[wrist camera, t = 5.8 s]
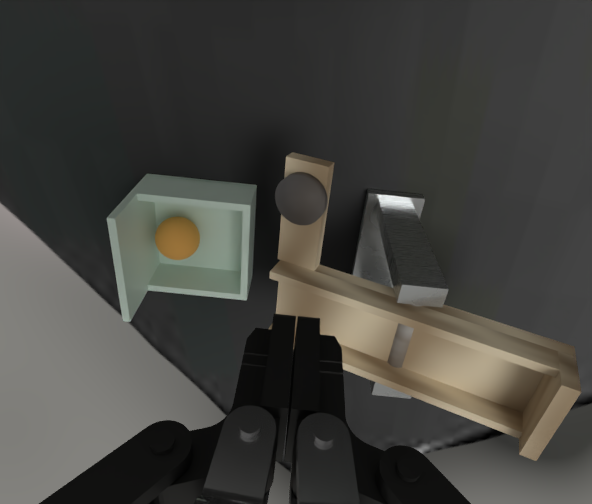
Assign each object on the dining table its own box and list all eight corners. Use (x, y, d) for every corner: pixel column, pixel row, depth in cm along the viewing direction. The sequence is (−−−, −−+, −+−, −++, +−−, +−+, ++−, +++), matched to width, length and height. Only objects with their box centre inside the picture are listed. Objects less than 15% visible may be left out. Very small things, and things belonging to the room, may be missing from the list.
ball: (207, 224, 31) (188, 205, 33) (162, 234, 29) (146, 213, 31) (207, 261, 32) (190, 241, 35) (166, 273, 31) (150, 251, 33)
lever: (276, 315, 30) (251, 346, 27) (290, 150, 23) (261, 169, 21) (533, 412, 25) (535, 462, 22) (638, 234, 18) (658, 273, 16)
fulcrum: (347, 290, 36) (357, 397, 27) (367, 188, 31) (388, 276, 22) (395, 295, 36) (421, 404, 27) (422, 194, 31) (466, 284, 22)
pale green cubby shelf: (147, 173, 31) (106, 217, 25) (256, 184, 31) (242, 231, 26) (155, 264, 36) (122, 321, 30) (252, 274, 36) (239, 333, 30)
